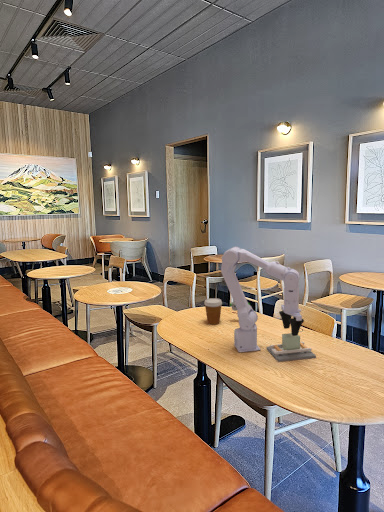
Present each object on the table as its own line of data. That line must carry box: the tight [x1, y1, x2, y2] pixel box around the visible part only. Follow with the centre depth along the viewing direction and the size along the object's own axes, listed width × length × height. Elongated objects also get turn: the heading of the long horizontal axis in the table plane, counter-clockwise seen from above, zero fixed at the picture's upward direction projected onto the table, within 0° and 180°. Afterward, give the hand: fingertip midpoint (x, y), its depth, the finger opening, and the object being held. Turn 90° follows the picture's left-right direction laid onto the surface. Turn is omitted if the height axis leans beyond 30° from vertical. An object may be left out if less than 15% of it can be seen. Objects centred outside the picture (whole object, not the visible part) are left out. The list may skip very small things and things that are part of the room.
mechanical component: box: [229, 301, 251, 321], centre depth 176 cm, size 3×10×10 cm, turn 89°
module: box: [281, 332, 301, 350], centre depth 138 cm, size 6×4×6 cm, turn 99°
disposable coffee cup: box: [203, 297, 223, 326], centre depth 175 cm, size 10×10×12 cm
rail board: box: [265, 341, 317, 363], centre depth 138 cm, size 16×12×3 cm
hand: (290, 331), depth 137 cm, fingers open, 7 cm apart
